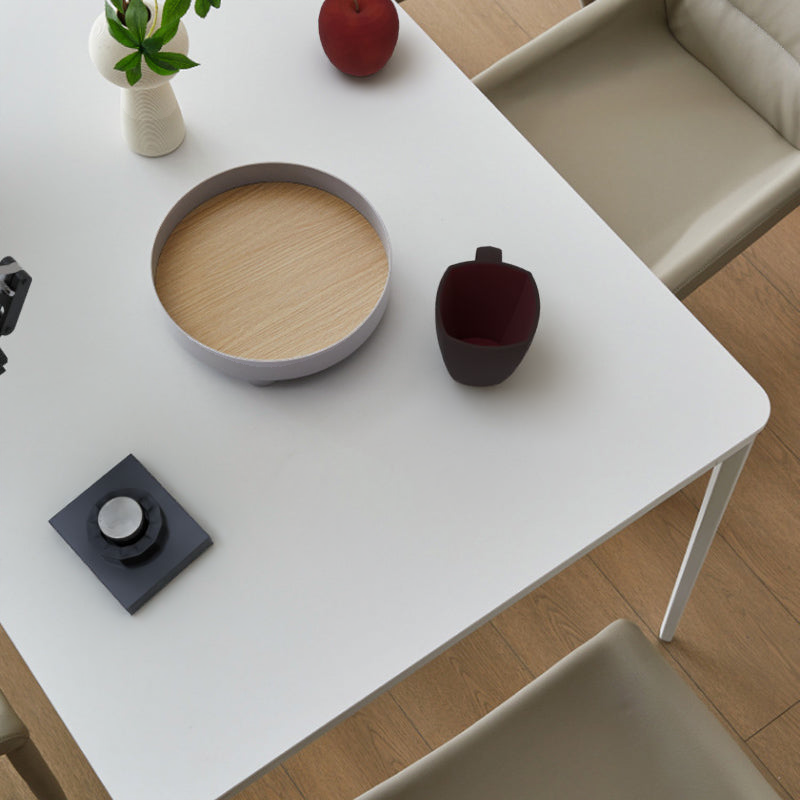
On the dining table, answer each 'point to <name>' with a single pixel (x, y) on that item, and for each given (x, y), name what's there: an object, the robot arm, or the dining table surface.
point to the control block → (142, 559)
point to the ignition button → (122, 520)
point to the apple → (358, 34)
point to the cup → (485, 318)
